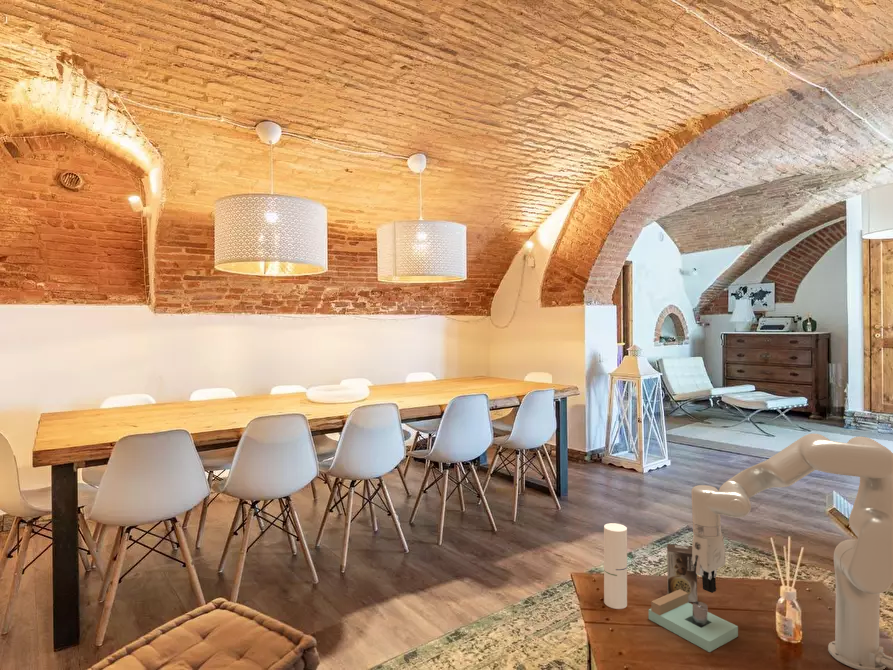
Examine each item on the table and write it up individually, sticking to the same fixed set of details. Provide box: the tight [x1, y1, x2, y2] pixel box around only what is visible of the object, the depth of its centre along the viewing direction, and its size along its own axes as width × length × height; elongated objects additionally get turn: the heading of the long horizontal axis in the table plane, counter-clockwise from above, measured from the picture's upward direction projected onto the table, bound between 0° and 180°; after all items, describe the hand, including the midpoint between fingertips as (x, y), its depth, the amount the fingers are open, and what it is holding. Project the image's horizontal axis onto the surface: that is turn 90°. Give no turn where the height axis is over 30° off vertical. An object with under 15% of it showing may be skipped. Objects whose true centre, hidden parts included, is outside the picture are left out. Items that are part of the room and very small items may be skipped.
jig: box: [648, 589, 739, 653], centre depth 163 cm, size 20×14×6 cm
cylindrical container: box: [603, 522, 628, 610], centre depth 177 cm, size 7×7×25 cm
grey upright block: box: [692, 600, 709, 628], centre depth 160 cm, size 4×4×8 cm
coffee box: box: [666, 543, 698, 603], centre depth 181 cm, size 9×6×16 cm
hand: (709, 590), depth 161 cm, fingers closed
